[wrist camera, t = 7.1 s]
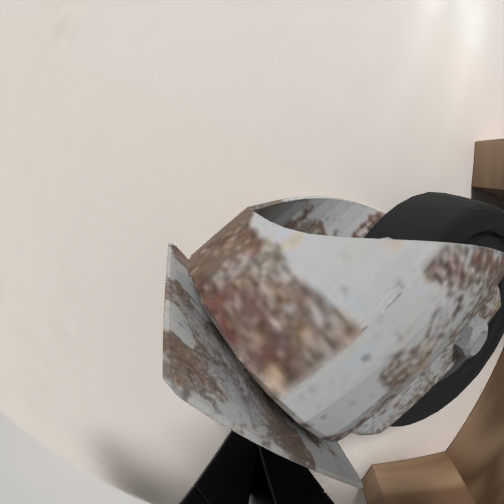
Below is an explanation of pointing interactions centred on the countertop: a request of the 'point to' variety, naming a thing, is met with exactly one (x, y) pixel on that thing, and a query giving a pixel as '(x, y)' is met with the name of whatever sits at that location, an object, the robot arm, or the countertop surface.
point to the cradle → (473, 431)
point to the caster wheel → (334, 319)
